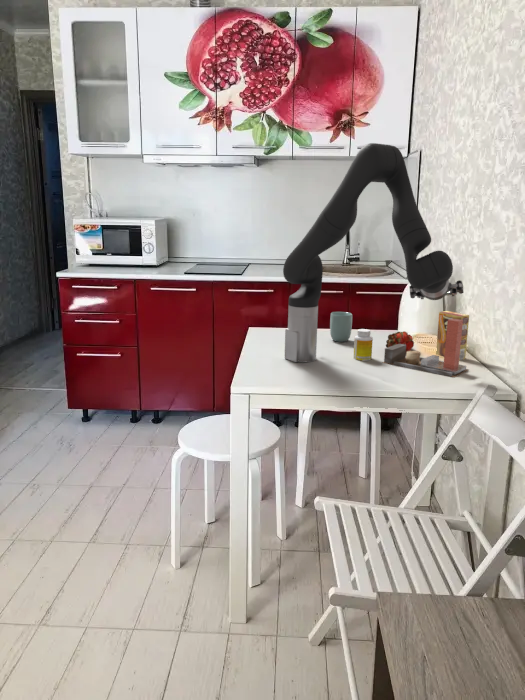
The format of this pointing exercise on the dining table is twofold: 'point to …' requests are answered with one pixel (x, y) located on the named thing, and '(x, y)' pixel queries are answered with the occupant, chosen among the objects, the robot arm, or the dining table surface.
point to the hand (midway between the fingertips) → (437, 294)
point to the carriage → (448, 350)
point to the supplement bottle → (363, 345)
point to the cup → (340, 326)
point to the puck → (412, 357)
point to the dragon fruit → (400, 340)
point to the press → (397, 358)
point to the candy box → (442, 331)
